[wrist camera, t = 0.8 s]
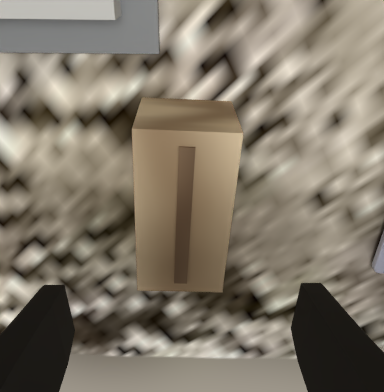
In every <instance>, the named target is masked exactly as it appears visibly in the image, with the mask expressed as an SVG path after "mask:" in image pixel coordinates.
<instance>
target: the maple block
mask: <svg viewBox="0 0 384 392" xmlns="http://www.w3.org/2000/svg"><path fill="white" fill-rule="evenodd" d="M242 140H243V131H242V128H241V126H240V123H239V120H238V118H237V115H236V112H235V110H234V107H233V104H232V102H231V101H209V100H187V99H165V98H143V97H142V99H141V102H140V105H139V108H138V111H137V115H136V118H135V121H134V124H133V127H132V146H133V176H134V205H135V234H136V263H137V290H143V291H188V292H222V290H223V283H224V275H225V268H226V260H227V253H228V245H229V238H230V230H231V223H232V215H233V207H234V200H235V192H236V185H237V177H238V170H239V162H240V155H241V147H242Z"/></svg>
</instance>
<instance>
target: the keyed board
mask: <svg viewBox="0 0 384 392" xmlns="http://www.w3.org/2000/svg"><path fill="white" fill-rule="evenodd" d="M0 52H21V53H120V54H159V52H160V50H159V17H158V0H0Z"/></svg>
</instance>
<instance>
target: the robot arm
mask: <svg viewBox="0 0 384 392" xmlns="http://www.w3.org/2000/svg"><path fill="white" fill-rule="evenodd" d="M372 267H373V269H374V271H375V272H377V273H384V231H383V234H382V237H381V240H380V242H379V245H378V248H377V251H376V254H375V257H374V259H373V262H372ZM291 331H292V336H293V341H294V346H295V350H296V355H297V359H298V363H299V366H300V369H301V372H302V375H303V378H304V381H305V384H306V387H307V390H308V392H384V352H383V351H382V350H381V349H380V348H379V347H378V346H377V345H376V344H375V343H374V342H373V341H372V340H371V339H370V338H369V337H368V335H367V334H366V333H365V332H364V331H363V330H362V329H361V328H360V327H359V326H358V325H357V324H356V322H355V321H354V320H353V319H352V318H351V317H350V316H349V315H348V313H347V312H346V311H345V310H344V309H343V308H342V307H341V305H340V304H339V303H338V302H337V301H336V300H335V298H334V297H333V296H332V295H331V294H330V293H329V291H328V290H327V289H326V288H325V287H324V286H323V285H322V284H321V283H301V287H300V291H299V295H298V299H297V304H296V308H295V312H294V317H293V321H292V325H291ZM74 332H75V329H74V325H73V320H72V316H71V312H70V307H69V303H68V299H67V294H66V290H65V286H64V285H44V286H43V287H41V288H40V290H39V291H38V292H37V293H36V294H35V295H34V297H33V298H32V299H31V300H30V301H29V302H28V304H27V305H26V306H25V307H24V308H23V309H22V311H21V312H20V313H19V314H18V315H17V316H16V318H15V319H14V320H13V321H12V322H11V323H10V324H9V326H8V327H7V328H6V329H5V330H4V331H3V332H2V333H1V334H0V392H59V390H60V387H61V384H62V381H63V377H64V374H65V371H66V368H67V365H68V361H69V356H70V352H71V347H72V342H73V337H74Z"/></svg>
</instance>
